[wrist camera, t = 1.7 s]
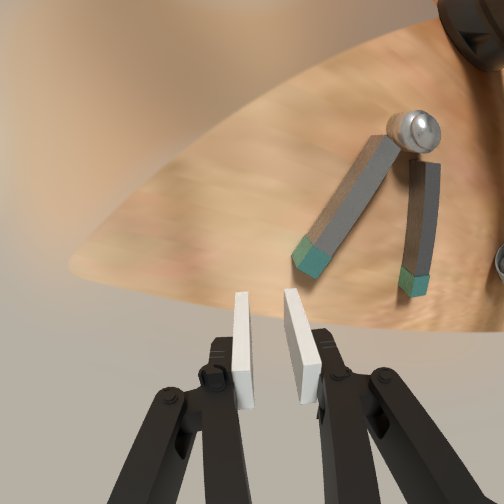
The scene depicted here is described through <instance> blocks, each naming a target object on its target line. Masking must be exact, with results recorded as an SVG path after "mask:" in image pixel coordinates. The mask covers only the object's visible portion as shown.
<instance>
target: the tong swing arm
mask: <svg viewBox="0 0 504 504" xmlns="http://www.w3.org/2000/svg"><path fill="white" fill-rule="evenodd" d="M410 131H411V136H412V138H413V140H414V142H415V143H416V145H417V146H419V147H420V148H422V149H428V150H431V149H434V148H436V147H437V146H438V145H439V143H440V140H441V130H440V127H439V124H438V122H437V121H436V120H435V118H434V117H432V116H431V115H429V114H419V115H417V116H415V117H414V118H413V120H412V122H411V126H410ZM400 150H401V149H400V148H399V147H398V146H397V145H396V144H395V143H394V142H393V141H392V140H391V139H390V138H388V137H387V136H386V135H372V136H371V137H370V138H369V140H368V141H367V143H366V145H365V146H364V148H363V149H362V151H361V153H360V154H359V156H358V157H357V159H356V161H355V162H354V164H353V165H352V167H351V168H350V170H349V172H348V173H347V175H346V176H345V178H344V179H343V181H342V182H341V184H340V185H339V187H338V189H337V190H336V192H335V193H334V195H333V196H332V198H331V199H330V201H329V202H328V204H327V205H326V207H325V208H324V210H323V211H322V213H321V214H320V216H319V217H318V219H317V220H316V222H315V223H314V225H313V226H312V228H311V229H310V231H309V232H308V234H307V235H305V236H304V237H303V239H302V240H301V242H300V243H299V245H298V246H297V248H296V249H295V251H294V252H293V253H292V255H291V256H292V258H293V261H294V263H295V265H296V268H297V269H299V270H301V271H302V272H304V273H306V274H308V275H309V276H311V277H313V278H314V279H317V278H318V276H319V275H320V274H321V272H322V271H323V269H324V268H325V267H326V265H327V264H328V263H329V261H330V260H331V258H332V257H331V256H332V255H333V254H334V252H335V251H336V249H337V248H338V246H339V245H340V244H341V242H342V241H343V239H344V238H345V236H346V235H347V234H348V232H349V231H350V229H351V228H352V226H353V225H354V223H355V222H356V220H357V219H358V217H359V216H360V214H361V213H362V211H363V210H364V208H365V207H366V205H367V204H368V202H369V201H370V199H371V198H372V196H373V194H374V193H375V191H376V190H377V188H378V187H379V185H380V183H381V182H382V180H383V179H384V177H385V175H386V174H387V172H388V170H389V169H390V167H391V166H392V164H393V162H394V161H395V159H396V157H397V156H398V154H399V152H400Z"/></svg>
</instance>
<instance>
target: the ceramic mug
mask: <svg viewBox="0 0 504 504" xmlns="http://www.w3.org/2000/svg"><path fill="white" fill-rule="evenodd" d="M495 266H496V269H497V272H498V274H499V276H500V278H501V280H502V283H503V285H504V244H503V245H502V246H501V247H500V248H499V249H498V251H497V253H496V257H495Z"/></svg>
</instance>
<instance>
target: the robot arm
mask: <svg viewBox="0 0 504 504" xmlns="http://www.w3.org/2000/svg"><path fill="white" fill-rule="evenodd" d="M438 12H439V16H440V19H441V21H442V24H443V26H444V28H445V30H446V32H447V33H448V35H449V37H450V38H451V40H452V42H453V43H454V44H455V46H456V47H457V48H458V50H459V51H460V52H461V53H462V55H463V56H464V57H465V58H466V59H467V60H468V61H469V62H470V63H471V64H473V65H474V66H475V67H477V68H478V69H480V70H482V71H485V72H493V71H498V70H501V69H502V68H504V0H438ZM284 327H285V332H286V337H287V342H288V346H289V351H290V356H291V361H292V366H293V371H294V375H295V380H296V386H297V391H298V395H299V401H300V405H302V404H309V403H316V400H317V398H318V402H319V408H318V413H317V419H319V426H320V437H321V449H322V462H323V477H324V495H325V504H381V503H380V502H381V501H380V496H379V489H378V483H377V477H376V471H375V466H374V461H373V456H372V451H371V446H370V441H369V436H368V432H367V429H368V431H369V433H370V435H371V437H372V438H373V440H374V442H375V444H376V446H377V448H378V449H379V451H380V453H381V455H382V457H383V458H384V460H385V462H386V464H387V466H388V468H389V470H390V471H391V473H392V475H393V477H394V479H395V481H396V482H397V484H398V486H399V488H400V490H401V492H402V494H403V496H404V498H405V500H406V501H407V503H408V504H497V503H495V502H493V501H492V500H490V499H488V498H487V497H485V496H484V494H483V493H482V491H481V490H480V488H479V486H478V485H477V483H476V482H475V480H474V479H473V477H472V476H471V475H470V473H469V471H468V470H467V468H466V467H465V465H464V464H463V462H462V461H461V459H460V458H459V457H458V455H457V454H456V452H455V451H454V449H453V448H452V447H451V445H450V444H449V442H448V441H447V439H446V438H445V437H444V435H443V434H442V432H441V431H440V430H439V428H438V427H437V425H436V424H435V423H434V421H433V420H432V419H431V417H430V416H429V415H428V413H427V412H426V411H425V409H424V408H423V407H422V405H421V404H420V403H419V401H418V400H417V398H416V397H415V396H414V395H413V393H412V392H411V391H410V389H409V388H408V387H407V385H406V384H405V383H404V382H403V380H402V379H401V378H400V376H399V375H398V374H397V373H396V372H395V371H394V370H392V369H390V368H386V367H381V368H378V369H376V370H374V371H373V372H372V374H371V375H363V374H356V373H353V372H352V370H351V369H349V368H348V367H346V366H345V365H344V362H343V360H342V357H341V355H340V353H339V350H338V348H337V346H336V343H335V341H334V339H333V336H332V334H331V333H330V332H329V331H328V330H327V329H325V328H323V329H314V330H311V329H310V326H309V323H308V320H307V317H306V314H305V312H304V309H303V306H302V303H301V300H300V297H299V294H298V292H297V289H296V288H291V289H284ZM209 357H210V358H209V363H208V364H207V365H205V366H203V367H202V368H201V369H200V370H199V373H198V377H199V380H200V384H201V386H200V387H198V388H197V389H194V390H190V391H186V392H183V391H182V390H180V389H179V388H176V387H167V388H163V389H162V390H160V391H159V392H158V393H157V394H156V396H155V398H154V400H153V402H152V404H151V406H150V408H149V411H148V413H147V415H146V417H145V419H144V421H143V424H142V426H141V428H140V430H139V432H138V435H137V437H136V439H135V441H134V443H133V445H132V448H131V450H130V452H129V454H128V457H127V459H126V461H125V463H124V465H123V468H122V470H121V472H120V475H119V477H118V480H117V481H116V484H115V486H114V489H113V491H112V493H111V495H110V498H109V500H108V502H107V504H176V501H177V498H178V494H179V491H180V488H181V484H182V481H183V477H184V474H185V471H186V467H187V464H188V460H189V457H190V454H191V450H192V447H193V444H194V440H195V437H196V434H197V432H198V431H202V440H203V465H204V485H205V499H206V504H252V501H251V495H250V490H249V484H248V477H247V472H246V465H245V459H244V453H243V445H242V439H241V432H240V425H239V418H238V411H237V410H240V409H254V387H253V363H252V337H251V321H250V308H249V295H248V292H236V293H235V311H234V332H233V337H217V338H215V340H214V341H213V342H212V344H211V349H210V356H209Z"/></svg>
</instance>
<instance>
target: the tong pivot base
mask: <svg viewBox="0 0 504 504" xmlns="http://www.w3.org/2000/svg"><path fill="white" fill-rule="evenodd" d="M419 114H428V113H426V112H424V111H422V110H416V111H409V112H402V113H397V114H394V115H393V116H391V117H390V119H389V121H388V123H387V136H388V138H390V139H391V140H392V141H393V142H394V143H395V144H396V145H397V146H398V147H399V148H400V149H401V150H400V151H404V152H414V153H429V152H431V151H433V150H434V149H431V150H428V149H422V148H420V147H419V146H417V145H416V143H415V142H414V140H413V138H412V136H411V131H410V126H411V122H412V120H413V118H414V117H415V116H417V115H419ZM440 171H441V164H439V163H433V162H426V161H417V160H410V184H409V204H408V218H407V229H406V238H405V247H404V254H403V262H402V266H401V271H400V277H399V283H398V285H399V286H400V287H401V288H402V289H403V290H404V291H405V292H406V293H407V294H408V295H409V297H410V298H412V297H417V296H423V295H426V292H427V287H428V283H429V278H430V275H429V271H430V266H431V260H432V254H433V248H434V241H435V234H436V226H437V217H438V207H439V194H440Z"/></svg>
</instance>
